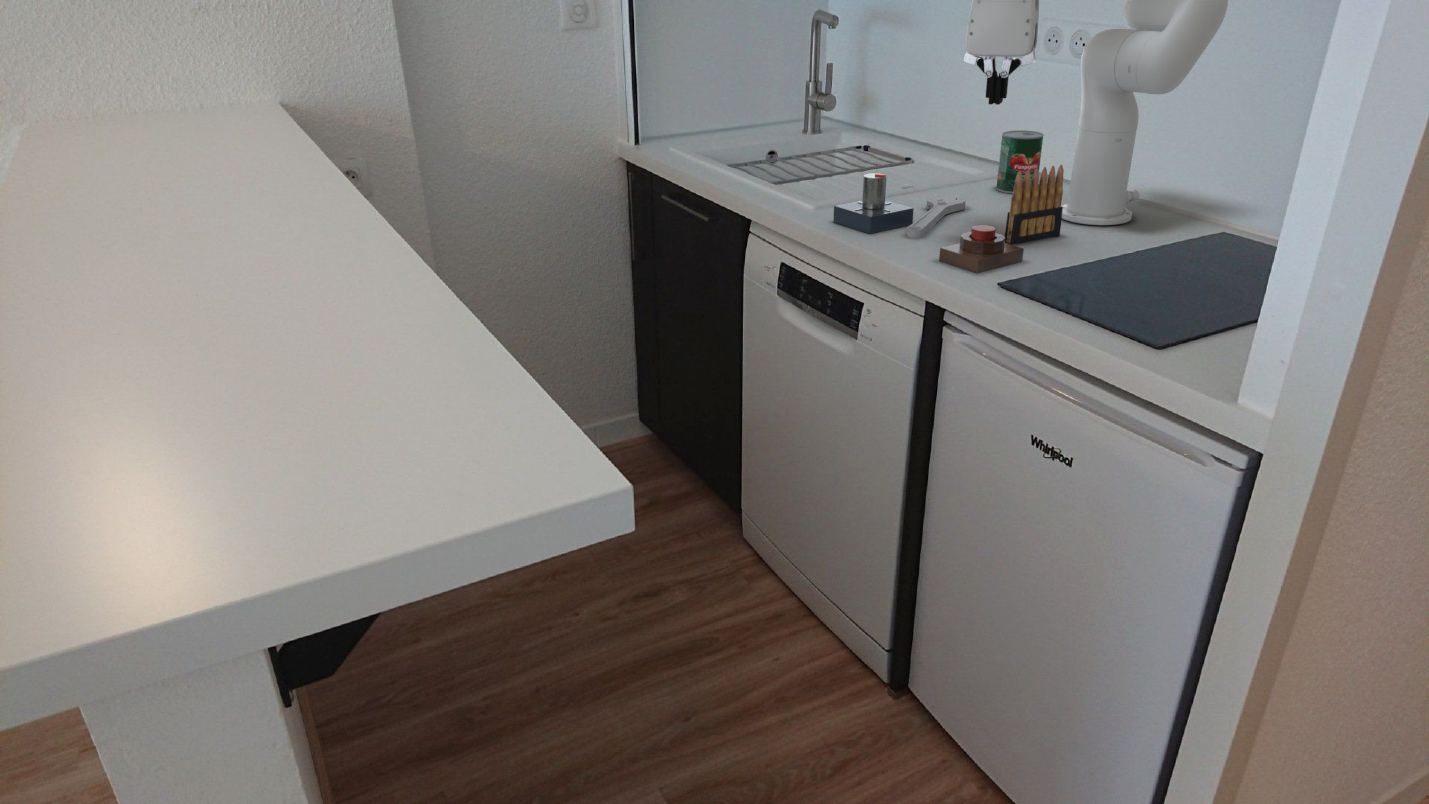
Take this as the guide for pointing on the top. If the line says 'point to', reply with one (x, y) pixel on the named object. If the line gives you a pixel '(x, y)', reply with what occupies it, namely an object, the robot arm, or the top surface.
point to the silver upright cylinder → (874, 191)
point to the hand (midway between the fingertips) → (995, 102)
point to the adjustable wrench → (934, 215)
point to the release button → (983, 232)
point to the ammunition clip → (1035, 207)
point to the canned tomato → (1018, 157)
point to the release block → (981, 253)
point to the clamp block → (873, 216)
